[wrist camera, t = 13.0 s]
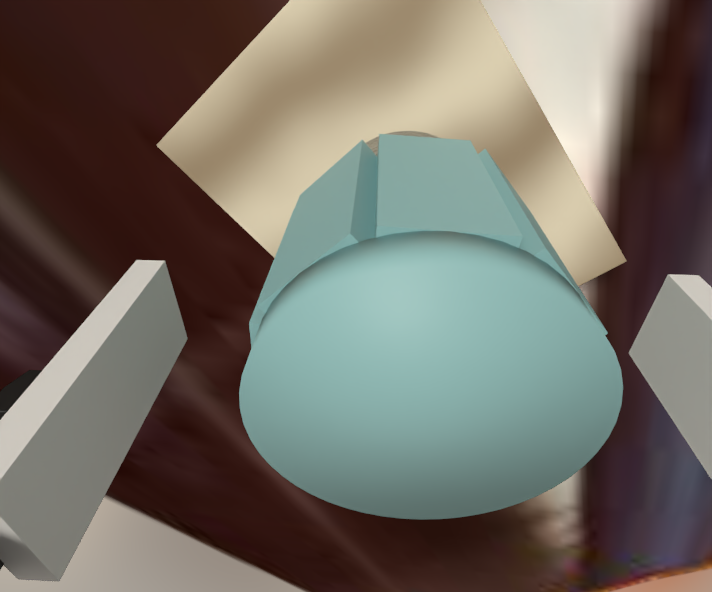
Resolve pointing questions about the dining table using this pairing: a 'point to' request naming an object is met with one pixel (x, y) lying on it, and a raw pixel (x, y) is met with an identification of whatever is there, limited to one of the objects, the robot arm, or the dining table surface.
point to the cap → (424, 341)
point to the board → (378, 115)
